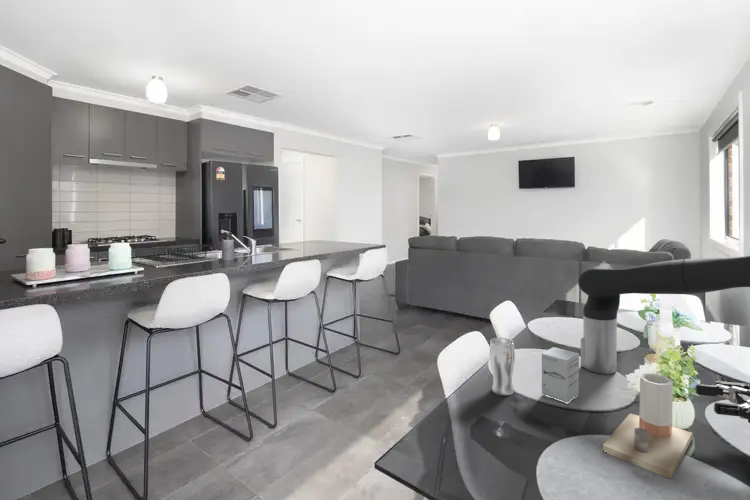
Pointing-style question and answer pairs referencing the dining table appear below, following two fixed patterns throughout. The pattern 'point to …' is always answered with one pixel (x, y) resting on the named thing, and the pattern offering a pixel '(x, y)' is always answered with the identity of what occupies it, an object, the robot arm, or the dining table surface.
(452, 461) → the dining table surface
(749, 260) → the robot arm
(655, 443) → the pin board
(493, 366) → the beer glass
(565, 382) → the supplement box
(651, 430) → the sleeve
